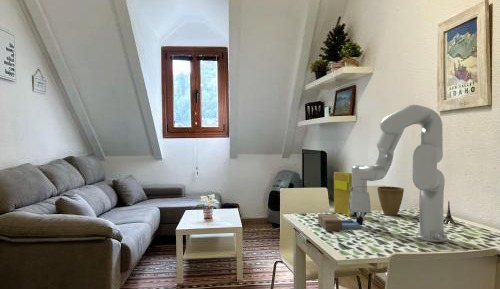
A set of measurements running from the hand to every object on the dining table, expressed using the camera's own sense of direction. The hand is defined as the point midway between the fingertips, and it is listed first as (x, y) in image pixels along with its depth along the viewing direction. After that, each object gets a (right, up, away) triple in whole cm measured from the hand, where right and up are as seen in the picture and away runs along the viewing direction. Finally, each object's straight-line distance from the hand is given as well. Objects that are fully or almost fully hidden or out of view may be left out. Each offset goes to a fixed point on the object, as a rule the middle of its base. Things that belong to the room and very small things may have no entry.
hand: (359, 224), depth 173 cm
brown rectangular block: (-15, -1, 0) cm, 15 cm away
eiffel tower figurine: (+50, -1, +5) cm, 50 cm away
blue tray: (-10, -1, 0) cm, 10 cm away
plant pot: (+28, -1, +29) cm, 40 cm away
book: (+1, -1, +31) cm, 31 cm away
